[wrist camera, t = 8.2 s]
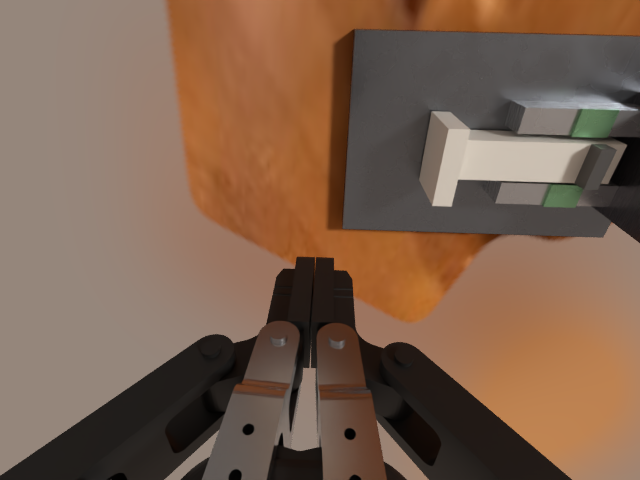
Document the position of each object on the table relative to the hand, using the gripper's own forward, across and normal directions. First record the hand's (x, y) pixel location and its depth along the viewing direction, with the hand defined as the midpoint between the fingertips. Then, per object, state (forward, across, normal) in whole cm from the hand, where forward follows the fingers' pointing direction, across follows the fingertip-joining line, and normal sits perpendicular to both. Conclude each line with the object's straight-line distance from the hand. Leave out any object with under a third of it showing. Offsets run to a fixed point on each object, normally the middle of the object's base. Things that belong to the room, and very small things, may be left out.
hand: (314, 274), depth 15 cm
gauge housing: (+19, -14, 0) cm, 23 cm away
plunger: (+17, -15, 0) cm, 22 cm away
